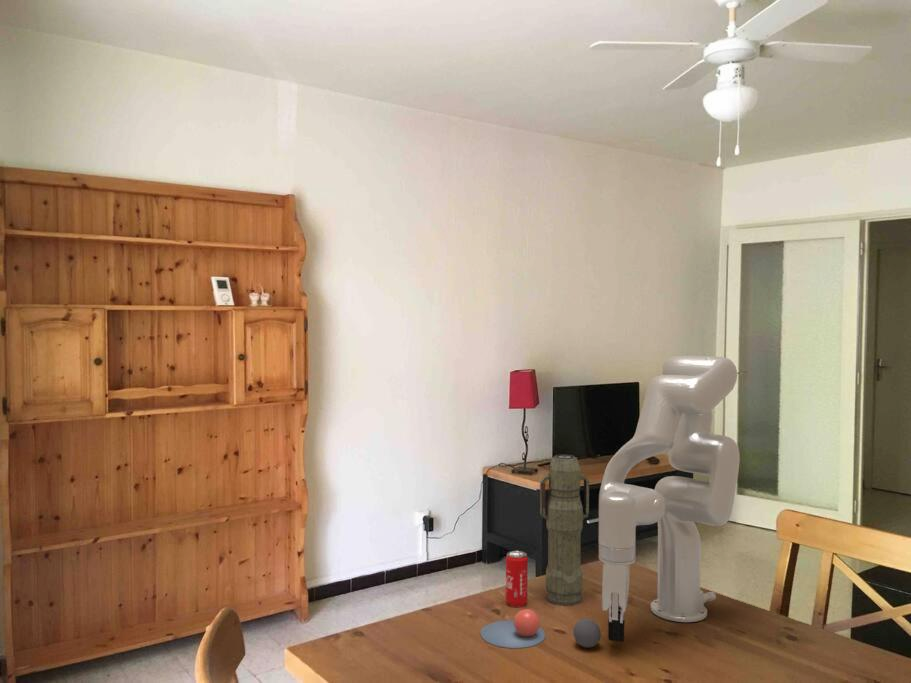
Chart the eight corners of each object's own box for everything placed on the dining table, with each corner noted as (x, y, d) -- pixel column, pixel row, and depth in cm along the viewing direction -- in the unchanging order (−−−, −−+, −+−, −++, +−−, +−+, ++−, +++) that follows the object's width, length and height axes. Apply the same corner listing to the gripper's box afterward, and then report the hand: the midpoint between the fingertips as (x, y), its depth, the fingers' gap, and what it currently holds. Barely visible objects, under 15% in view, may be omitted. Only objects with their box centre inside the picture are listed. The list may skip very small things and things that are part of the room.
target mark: (525, 617, 169) (525, 616, 169) (557, 641, 156) (557, 640, 156) (469, 627, 163) (469, 626, 163) (498, 653, 150) (498, 652, 150)
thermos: (535, 593, 183) (535, 454, 182) (579, 590, 185) (580, 452, 184) (546, 607, 174) (547, 460, 173) (593, 603, 177) (594, 458, 176)
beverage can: (526, 608, 174) (526, 558, 173) (504, 606, 175) (504, 556, 174) (528, 600, 179) (528, 551, 178) (507, 598, 180) (507, 550, 179)
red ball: (532, 603, 162) (524, 626, 163) (513, 604, 159) (505, 627, 159) (548, 618, 157) (539, 641, 158) (529, 619, 154) (520, 642, 155)
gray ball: (586, 609, 156) (581, 630, 158) (570, 620, 152) (565, 641, 154) (608, 624, 153) (602, 645, 154) (593, 635, 149) (587, 657, 150)
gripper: (601, 540, 161) (601, 623, 161) (595, 562, 147) (594, 652, 147) (636, 543, 159) (636, 627, 159) (633, 565, 144) (633, 657, 145)
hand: (616, 639), depth 153 cm, fingers closed
